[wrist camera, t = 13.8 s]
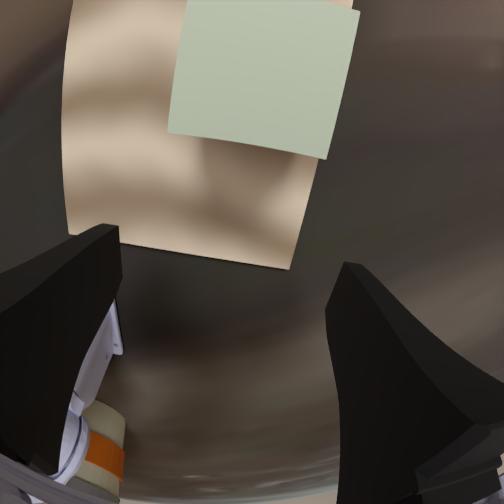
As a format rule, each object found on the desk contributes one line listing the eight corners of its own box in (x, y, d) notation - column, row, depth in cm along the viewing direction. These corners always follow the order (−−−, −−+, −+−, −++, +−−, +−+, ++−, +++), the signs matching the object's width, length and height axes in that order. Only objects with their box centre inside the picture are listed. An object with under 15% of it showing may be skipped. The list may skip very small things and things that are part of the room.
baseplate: (288, 261, 22) (288, 270, 21) (75, 227, 21) (68, 234, 20) (349, -4, 13) (355, -8, 12) (86, -20, 12) (77, -23, 11)
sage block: (305, 130, 12) (325, 159, 8) (197, 112, 12) (167, 132, 8) (327, 30, 10) (360, 11, 6) (215, 10, 9) (191, -19, 6)
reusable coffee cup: (44, 383, 35) (8, 468, 22) (112, 392, 33) (79, 498, 21) (87, 427, 41) (64, 501, 29) (151, 436, 40) (133, 523, 27)
